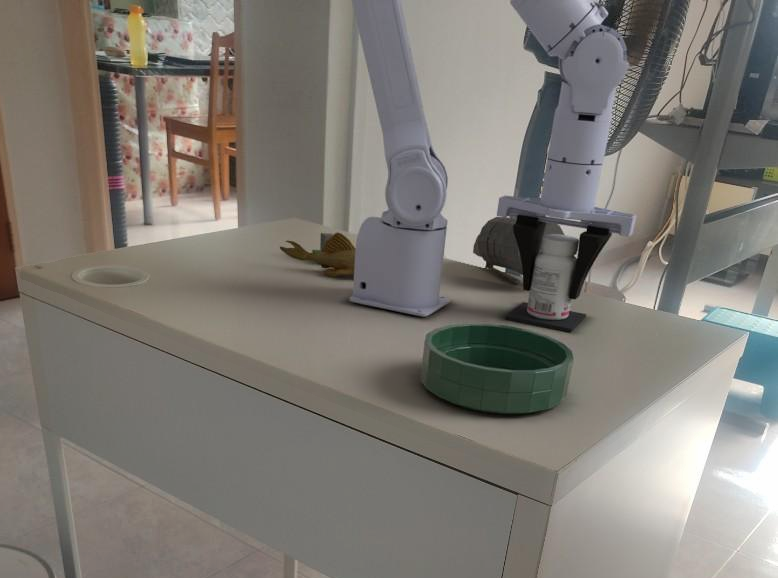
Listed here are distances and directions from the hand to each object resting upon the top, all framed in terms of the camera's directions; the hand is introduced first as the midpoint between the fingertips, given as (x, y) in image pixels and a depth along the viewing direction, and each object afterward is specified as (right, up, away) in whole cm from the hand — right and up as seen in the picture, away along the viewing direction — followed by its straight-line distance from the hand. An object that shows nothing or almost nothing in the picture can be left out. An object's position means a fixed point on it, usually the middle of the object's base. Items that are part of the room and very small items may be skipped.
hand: (550, 292), depth 94 cm
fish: (-25, +6, +12) cm, 29 cm away
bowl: (-9, -14, -19) cm, 26 cm away
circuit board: (-22, +12, +19) cm, 32 cm away
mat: (0, -2, +1) cm, 3 cm away
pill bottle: (0, -2, +1) cm, 3 cm away
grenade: (+1, +7, +8) cm, 11 cm away
